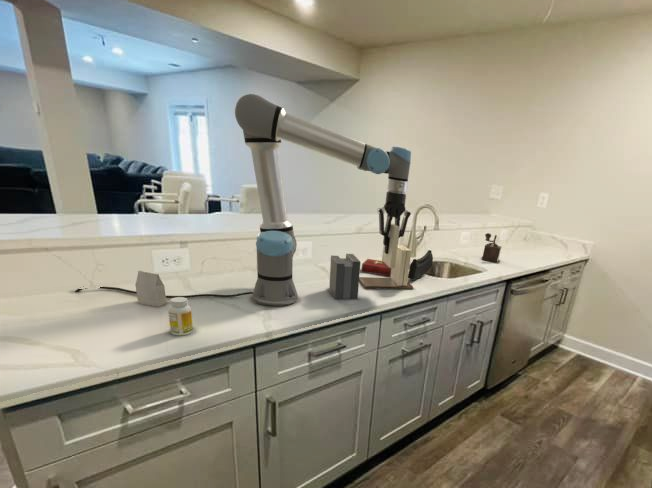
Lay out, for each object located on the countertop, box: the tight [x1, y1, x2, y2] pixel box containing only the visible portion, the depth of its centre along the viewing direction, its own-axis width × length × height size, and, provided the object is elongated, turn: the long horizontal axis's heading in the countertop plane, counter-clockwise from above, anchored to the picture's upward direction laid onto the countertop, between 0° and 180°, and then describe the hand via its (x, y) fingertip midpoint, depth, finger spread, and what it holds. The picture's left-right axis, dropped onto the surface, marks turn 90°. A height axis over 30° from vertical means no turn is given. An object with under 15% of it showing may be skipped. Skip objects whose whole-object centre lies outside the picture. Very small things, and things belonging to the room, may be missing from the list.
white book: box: [381, 221, 401, 268], centre depth 152 cm, size 2×11×16 cm, turn 22°
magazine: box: [408, 249, 434, 280], centre depth 193 cm, size 17×3×30 cm
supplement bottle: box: [167, 297, 194, 336], centre depth 105 cm, size 5×5×10 cm
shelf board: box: [359, 276, 414, 290], centre depth 173 cm, size 22×13×1 cm, turn 112°
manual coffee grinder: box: [481, 232, 502, 264], centre depth 250 cm, size 16×11×18 cm
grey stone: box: [134, 270, 167, 307], centre depth 119 cm, size 4×7×10 cm, turn 79°
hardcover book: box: [361, 258, 391, 277], centre depth 191 cm, size 12×21×4 cm, turn 84°
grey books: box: [328, 253, 361, 300], centre depth 151 cm, size 9×12×15 cm
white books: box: [389, 244, 412, 286], centre depth 172 cm, size 4×11×16 cm, turn 22°
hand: (389, 253), depth 154 cm, fingers closed on white book, 2 cm apart
